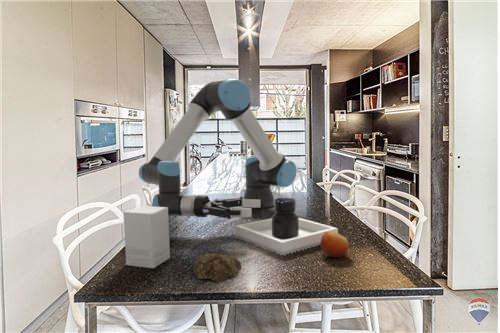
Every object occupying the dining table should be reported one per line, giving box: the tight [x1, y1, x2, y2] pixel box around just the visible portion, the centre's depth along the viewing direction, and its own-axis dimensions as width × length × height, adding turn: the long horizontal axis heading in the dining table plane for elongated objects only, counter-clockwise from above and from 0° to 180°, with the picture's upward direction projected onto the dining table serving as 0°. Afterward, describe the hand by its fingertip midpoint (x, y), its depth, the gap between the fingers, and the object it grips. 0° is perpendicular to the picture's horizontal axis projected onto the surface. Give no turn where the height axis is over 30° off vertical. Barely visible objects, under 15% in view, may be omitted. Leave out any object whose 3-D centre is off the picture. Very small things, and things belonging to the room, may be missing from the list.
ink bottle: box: [271, 197, 300, 239], centre depth 126 cm, size 10×9×12 cm
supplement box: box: [122, 205, 171, 269], centre depth 106 cm, size 9×9×15 cm
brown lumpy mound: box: [192, 252, 242, 283], centre depth 99 cm, size 13×12×5 cm
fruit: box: [320, 231, 350, 259], centre depth 109 cm, size 8×8×8 cm
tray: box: [234, 217, 339, 256], centre depth 126 cm, size 24×24×4 cm
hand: (256, 207), depth 128 cm, fingers open, 13 cm apart
